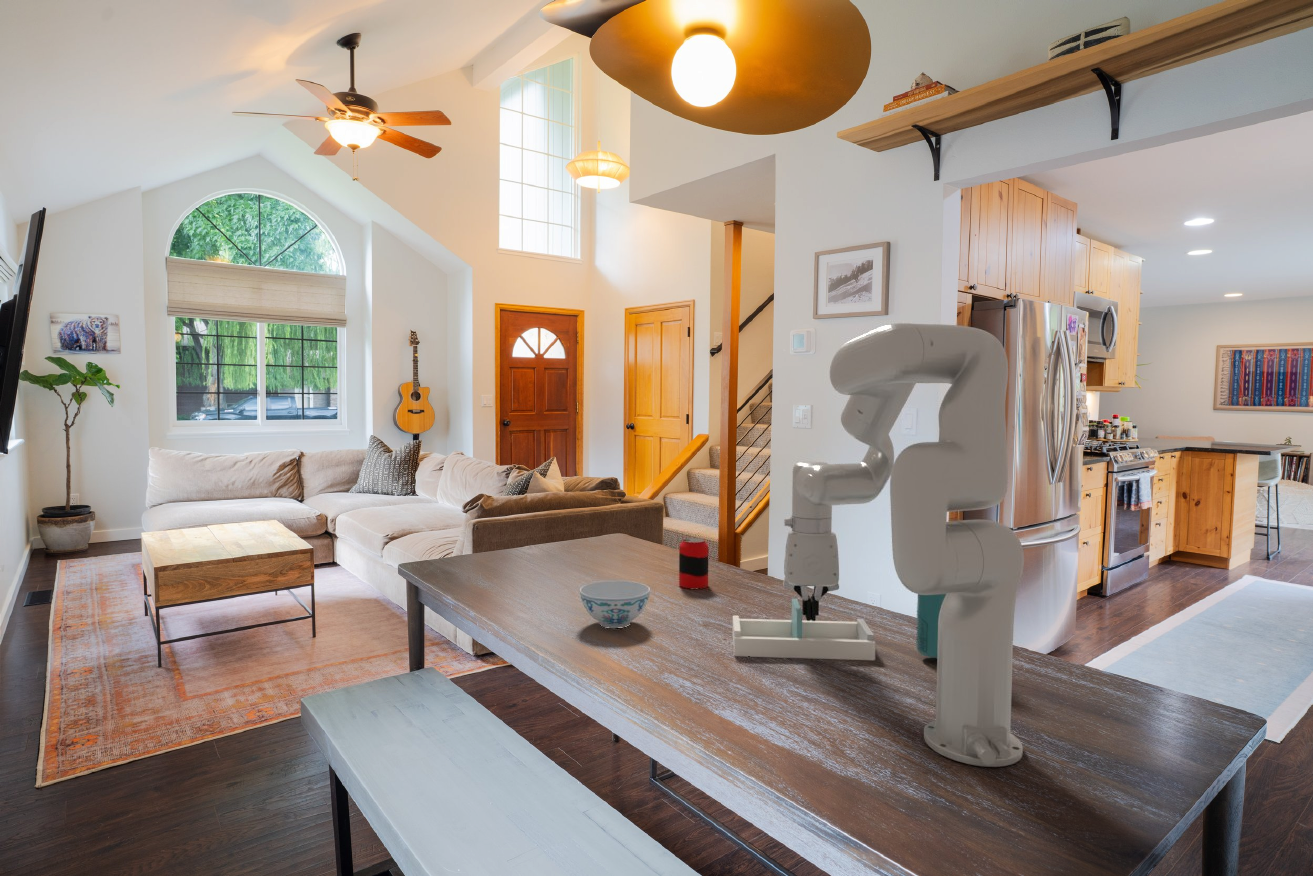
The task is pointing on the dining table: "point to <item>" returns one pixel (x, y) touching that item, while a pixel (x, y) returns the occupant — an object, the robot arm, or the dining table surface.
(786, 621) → the white divided tray
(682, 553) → the soda can
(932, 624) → the beverage bottle
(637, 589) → the chinaware
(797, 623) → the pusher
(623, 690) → the dining table surface
